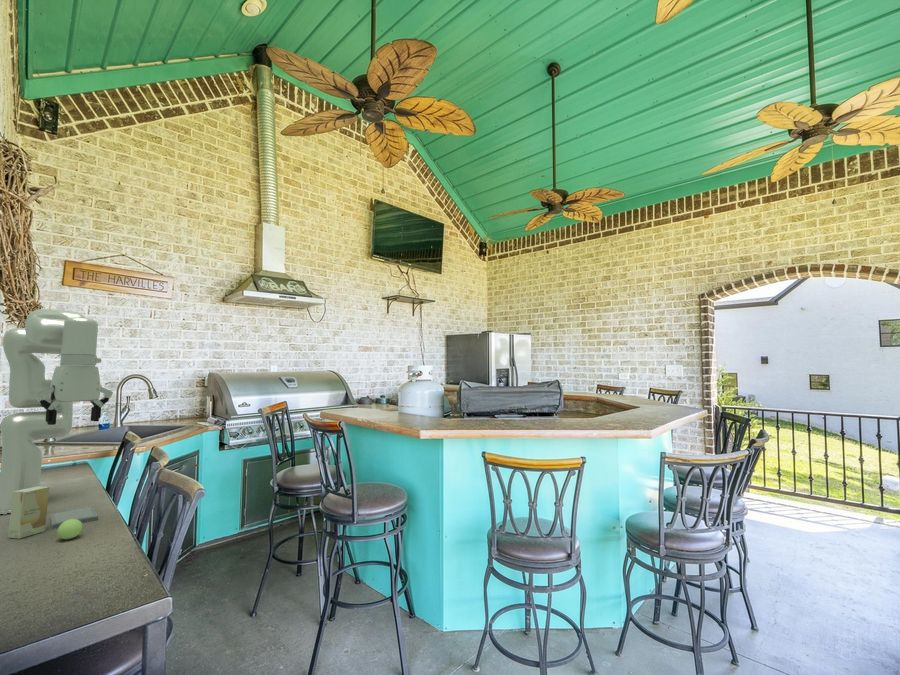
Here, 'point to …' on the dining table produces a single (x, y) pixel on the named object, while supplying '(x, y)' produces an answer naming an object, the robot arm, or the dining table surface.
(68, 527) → the lime
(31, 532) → the skincare box
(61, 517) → the metal tray
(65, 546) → the dining table surface
